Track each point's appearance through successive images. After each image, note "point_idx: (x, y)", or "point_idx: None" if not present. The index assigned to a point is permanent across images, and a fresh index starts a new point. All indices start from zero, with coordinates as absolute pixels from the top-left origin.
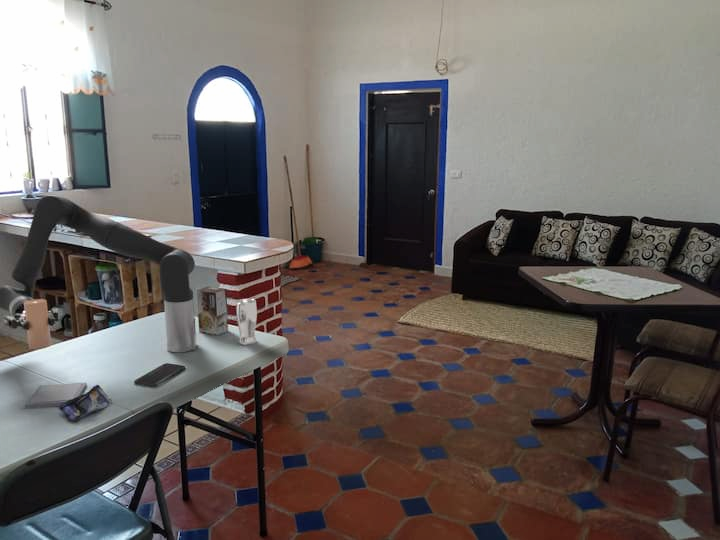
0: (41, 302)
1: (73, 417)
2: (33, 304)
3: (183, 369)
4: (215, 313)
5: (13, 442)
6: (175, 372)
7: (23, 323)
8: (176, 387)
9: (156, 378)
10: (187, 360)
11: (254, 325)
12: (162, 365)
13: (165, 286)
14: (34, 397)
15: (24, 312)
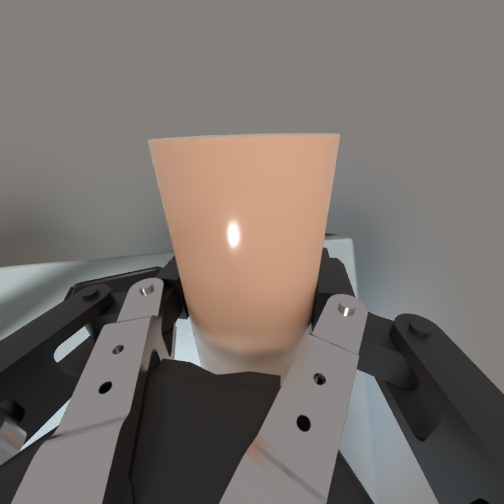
0: (222, 135)
1: None
2: (280, 133)
3: (85, 282)
4: None
5: (346, 259)
6: (104, 279)
7: (334, 266)
8: (151, 257)
9: (136, 279)
10: (25, 310)
11: None
12: None
13: None
14: (310, 329)
15: (297, 469)
